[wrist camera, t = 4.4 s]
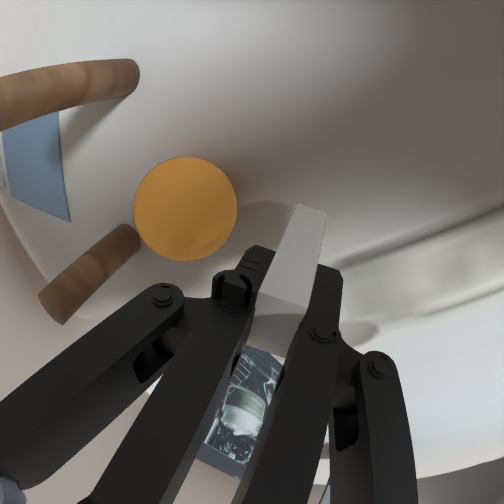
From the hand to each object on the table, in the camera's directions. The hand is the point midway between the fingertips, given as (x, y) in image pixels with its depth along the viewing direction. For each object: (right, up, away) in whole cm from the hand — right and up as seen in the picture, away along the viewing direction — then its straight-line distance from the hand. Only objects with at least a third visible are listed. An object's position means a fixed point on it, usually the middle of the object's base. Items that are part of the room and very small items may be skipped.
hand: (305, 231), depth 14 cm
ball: (-6, +1, +1) cm, 6 cm away
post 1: (-11, +10, 0) cm, 15 cm away
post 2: (-13, 0, +7) cm, 15 cm away
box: (-2, -12, +12) cm, 17 cm away
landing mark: (-26, +10, +6) cm, 28 cm away
